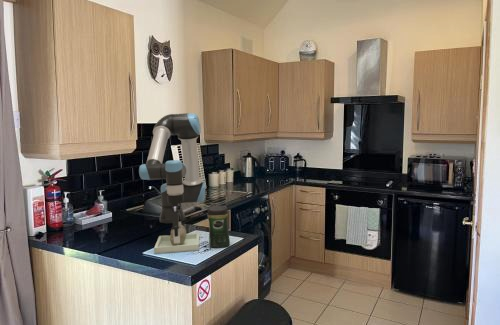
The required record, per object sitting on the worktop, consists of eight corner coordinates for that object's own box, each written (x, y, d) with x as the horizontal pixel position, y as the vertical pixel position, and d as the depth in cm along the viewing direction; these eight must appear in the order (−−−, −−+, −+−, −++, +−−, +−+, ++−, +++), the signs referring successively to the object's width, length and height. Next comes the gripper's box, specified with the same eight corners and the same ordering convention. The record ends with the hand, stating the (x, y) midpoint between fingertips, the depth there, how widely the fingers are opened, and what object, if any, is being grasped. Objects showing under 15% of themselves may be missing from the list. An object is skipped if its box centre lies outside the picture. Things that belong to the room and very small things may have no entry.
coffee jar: (229, 242, 182) (228, 203, 180) (229, 247, 174) (228, 207, 173) (209, 243, 181) (207, 204, 180) (208, 248, 174) (206, 208, 172)
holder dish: (159, 241, 188) (159, 236, 188) (199, 238, 190) (199, 233, 190) (154, 254, 169) (154, 247, 169) (199, 250, 171) (198, 244, 171)
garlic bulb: (180, 246, 184) (183, 225, 187) (190, 247, 178) (193, 225, 180) (163, 245, 178) (166, 223, 181) (172, 245, 172) (175, 223, 175)
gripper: (169, 190, 189) (171, 232, 191) (164, 199, 165) (167, 247, 167) (184, 189, 190) (187, 231, 192) (182, 198, 166) (184, 246, 167)
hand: (177, 239), depth 179 cm, fingers open, 13 cm apart
